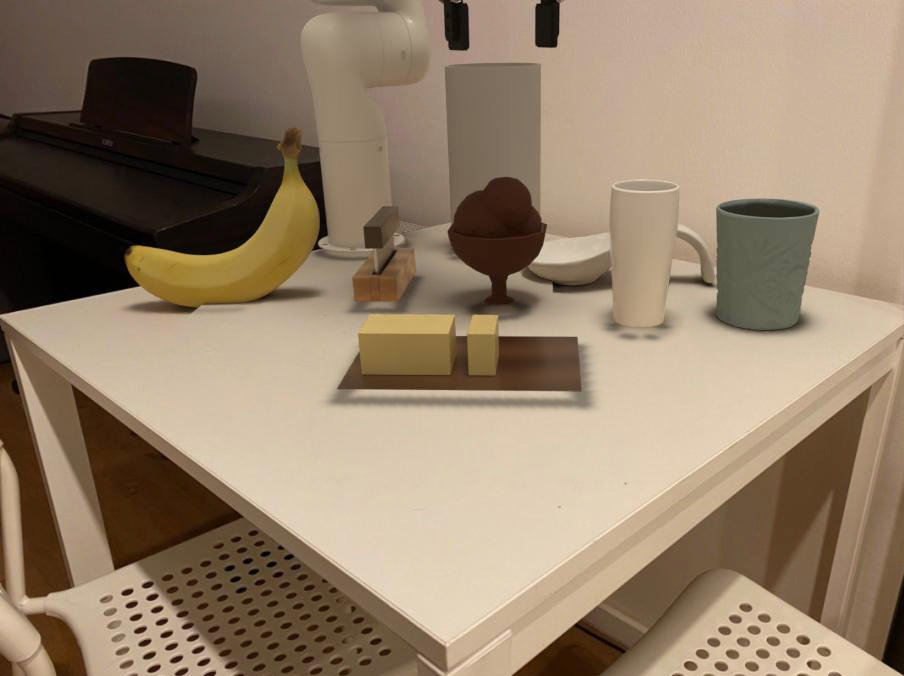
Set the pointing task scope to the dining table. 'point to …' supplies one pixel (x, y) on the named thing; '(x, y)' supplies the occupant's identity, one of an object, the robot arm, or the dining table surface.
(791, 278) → the green cup
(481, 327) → the butter slice
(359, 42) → the robot arm
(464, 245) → the ice cream bowl
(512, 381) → the board
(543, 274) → the spoon rest
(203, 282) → the banana
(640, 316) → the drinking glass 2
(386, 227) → the knife
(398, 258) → the knife block
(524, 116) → the cylinder vase
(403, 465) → the dining table surface
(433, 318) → the butter
